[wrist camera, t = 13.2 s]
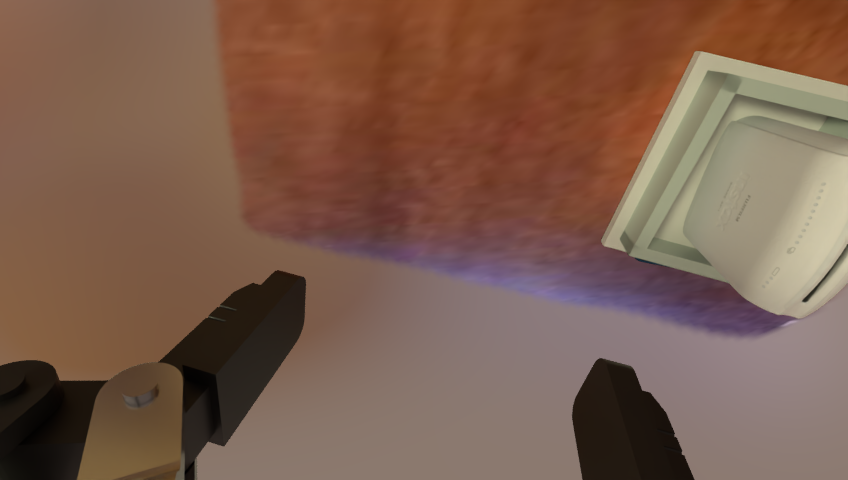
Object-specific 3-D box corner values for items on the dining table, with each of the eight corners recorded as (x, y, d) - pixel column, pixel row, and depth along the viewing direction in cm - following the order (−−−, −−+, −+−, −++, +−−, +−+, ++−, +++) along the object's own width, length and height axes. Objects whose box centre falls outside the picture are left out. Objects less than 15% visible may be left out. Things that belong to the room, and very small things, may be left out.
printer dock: (695, 51, 28) (722, 52, 25) (867, 92, 27) (921, 99, 24) (600, 240, 36) (611, 262, 32) (733, 276, 35) (758, 303, 31)
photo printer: (725, 109, 28) (860, 152, 18) (790, 117, 28) (970, 165, 17) (671, 234, 33) (751, 328, 22) (725, 242, 33) (834, 342, 22)
